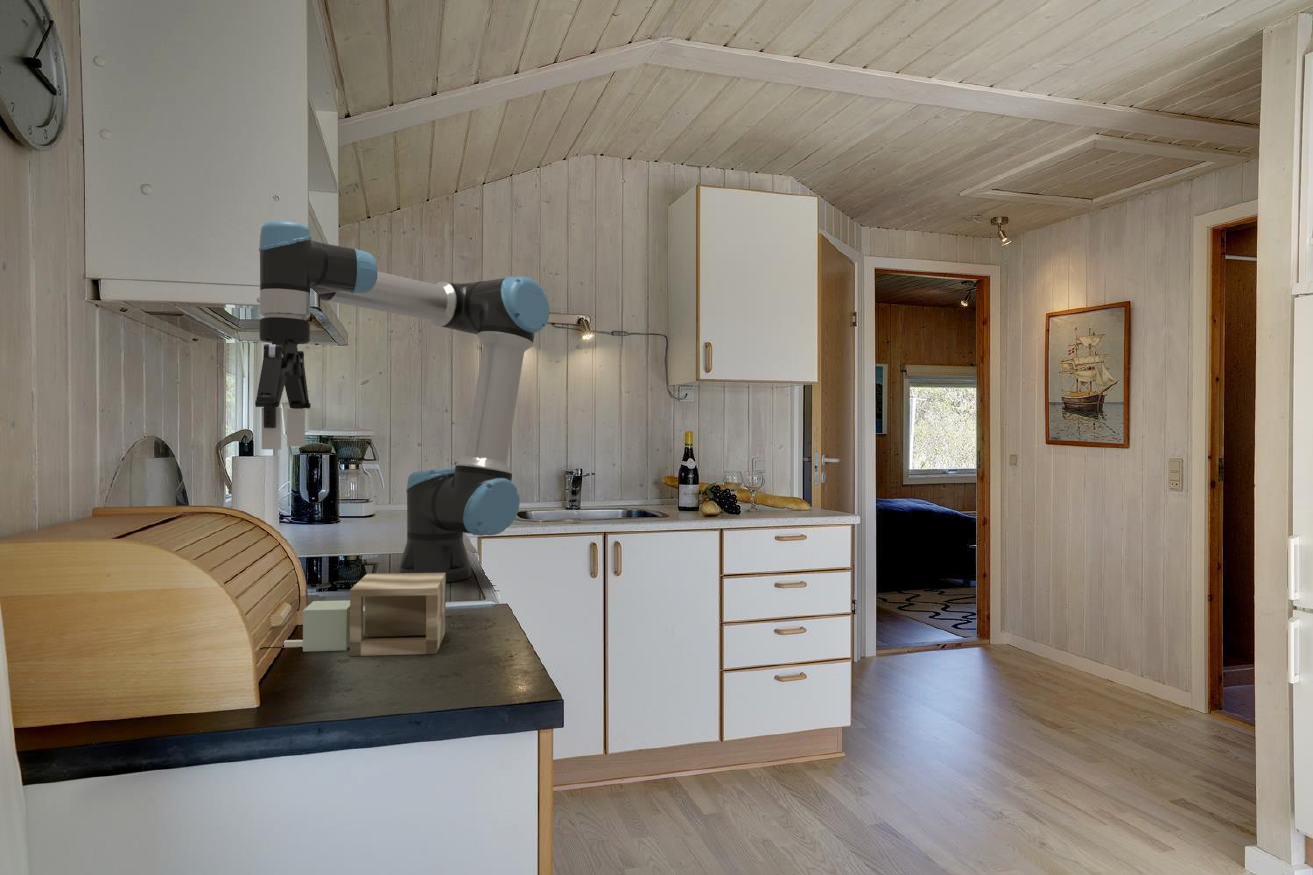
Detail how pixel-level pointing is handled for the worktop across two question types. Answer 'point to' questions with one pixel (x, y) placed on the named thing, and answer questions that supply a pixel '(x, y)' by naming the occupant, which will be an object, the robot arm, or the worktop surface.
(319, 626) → the block with rod
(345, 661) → the worktop surface
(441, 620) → the open wooden box
